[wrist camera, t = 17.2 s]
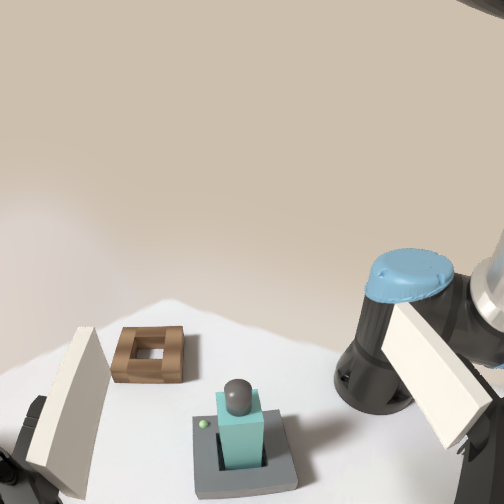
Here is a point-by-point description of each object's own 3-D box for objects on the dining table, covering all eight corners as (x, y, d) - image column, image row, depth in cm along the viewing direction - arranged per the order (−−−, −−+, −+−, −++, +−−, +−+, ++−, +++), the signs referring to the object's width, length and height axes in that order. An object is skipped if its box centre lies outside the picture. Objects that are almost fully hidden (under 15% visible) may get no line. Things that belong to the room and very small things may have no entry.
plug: (223, 447, 35) (213, 374, 28) (255, 444, 35) (257, 370, 29) (226, 474, 31) (216, 408, 24) (260, 471, 31) (265, 404, 25)
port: (195, 427, 38) (191, 413, 36) (277, 420, 39) (279, 406, 38) (198, 499, 27) (194, 490, 25) (295, 489, 28) (299, 480, 27)
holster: (126, 338, 55) (122, 327, 54) (184, 337, 57) (182, 325, 55) (114, 382, 44) (109, 370, 43) (182, 383, 46) (179, 371, 44)
